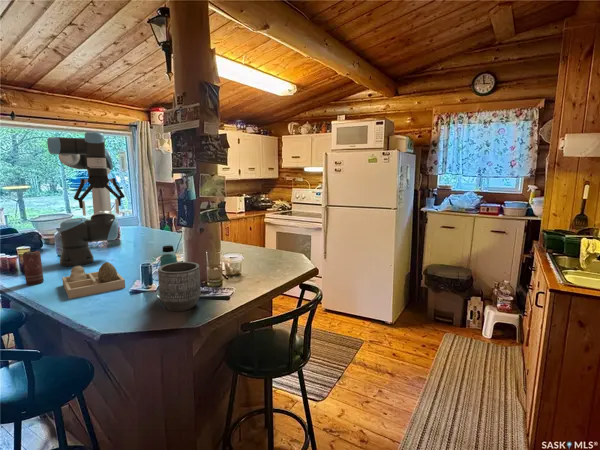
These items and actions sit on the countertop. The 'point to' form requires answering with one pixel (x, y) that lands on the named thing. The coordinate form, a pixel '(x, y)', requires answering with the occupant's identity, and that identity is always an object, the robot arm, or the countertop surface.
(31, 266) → the can
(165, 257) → the beverage bottle
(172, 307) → the planter
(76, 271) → the beige stacked dome figurine
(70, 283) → the wooden compartment tray
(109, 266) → the decorative egg
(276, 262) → the countertop surface
